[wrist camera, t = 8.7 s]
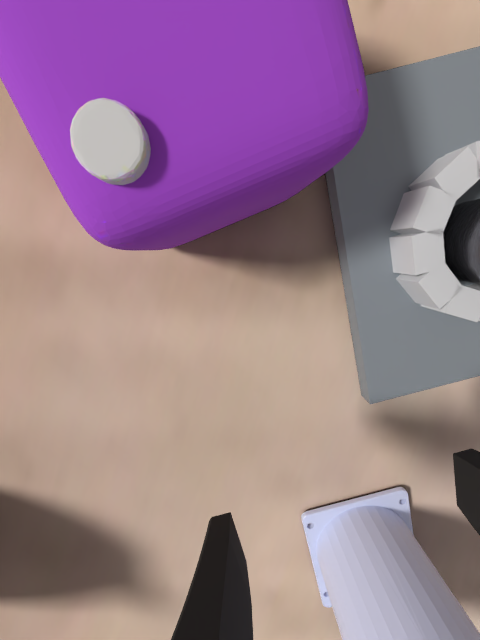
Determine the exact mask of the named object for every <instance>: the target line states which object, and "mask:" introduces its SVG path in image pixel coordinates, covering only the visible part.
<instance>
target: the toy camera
mask: <svg viewBox="0 0 480 640" xmlns="http://www.w3.org/2000/svg"><path fill="white" fill-rule="evenodd" d="M0 78H1V79H2V81H3V83H4V85H5V87H6V89H7V91H8V93H9V95H10V97H11V99H12V101H13V103H14V104H15V106H16V108H17V110H18V112H19V114H20V116H21V118H22V120H23V122H24V124H25V126H26V128H27V129H28V131H29V133H30V135H31V137H32V139H33V141H34V143H35V145H36V147H37V149H38V151H39V152H40V154H41V156H42V158H43V160H44V162H45V164H46V165H47V167H48V169H49V171H50V173H51V175H52V177H53V178H54V180H55V182H56V184H57V186H58V188H59V190H60V191H61V193H62V195H63V197H64V199H65V201H66V202H67V204H68V205H69V207H70V209H71V210H72V212H73V214H74V215H75V217H76V218H77V220H78V221H79V222H80V224H81V225H82V226H83V227H84V229H85V230H86V231H87V232H88V234H90V235H91V236H92V237H93V238H94V239H95V240H97V241H99V242H100V243H102V244H104V245H106V246H109V247H112V248H116V249H121V250H163V249H169V248H173V247H176V246H179V245H182V244H185V243H187V242H190V241H192V240H195V239H197V238H200V237H202V236H204V235H207V234H209V233H212V232H214V231H216V230H219V229H221V228H223V227H226V226H228V225H231V224H233V223H235V222H238V221H240V220H242V219H245V218H247V217H249V216H252V215H254V214H257V213H259V212H261V211H264V210H266V209H268V208H271V207H273V206H275V205H277V204H279V203H281V202H283V201H285V200H287V199H289V198H290V197H292V196H294V195H295V194H297V193H298V192H300V191H301V190H302V189H304V188H305V187H307V186H308V185H309V184H311V183H312V182H314V181H315V180H316V179H318V178H319V177H320V176H322V175H323V174H325V173H326V172H327V171H329V170H330V169H331V168H332V167H334V166H335V165H336V164H337V163H339V162H340V161H341V160H342V159H343V158H344V157H345V156H346V155H347V154H348V153H349V152H350V151H351V150H352V149H353V148H354V146H355V145H356V144H357V142H358V141H359V140H360V138H361V136H362V134H363V132H364V130H365V127H366V124H367V118H368V111H369V108H368V92H367V85H366V80H365V74H364V69H363V64H362V60H361V55H360V51H359V47H358V43H357V39H356V34H355V30H354V26H353V22H352V18H351V13H350V9H349V5H348V1H347V0H0Z"/></svg>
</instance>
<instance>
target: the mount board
mask: <svg viewBox="0 0 480 640" xmlns="http://www.w3.org/2000/svg"><path fill="white" fill-rule="evenodd" d="M365 80H366V85H367V92H368V108H369V111H368V118H367V124H366V127H365V130H364V132H363V134H362V136H361V138H360V140H359V141H358V142H357V144H356V145H355V146H354V148H353V149H352V150H351V151H350V152H349V153H348V154H347V155H346V156H345V157H344V158H343V159H342V160H341V161H340V162H339V163H337V164H336V165H335V166H334V167H332V168H331V169H330V170H329V171H327V172H326V173H325V175H326V181H327V187H328V193H329V199H330V205H331V211H332V218H333V224H334V230H335V236H336V242H337V248H338V254H339V260H340V267H341V273H342V279H343V285H344V291H345V297H346V303H347V309H348V316H349V322H350V328H351V334H352V340H353V346H354V352H355V358H356V365H357V371H358V377H359V383H360V389H361V395H362V396H363V397H364V398H365V399H366V400H367V402H368V403H369V404H373V403H377V402H381V401H385V400H389V399H393V398H396V397H400V396H404V395H408V394H412V393H415V392H419V391H423V390H427V389H431V388H435V387H438V386H442V385H446V384H450V383H454V382H458V381H461V380H465V379H469V378H473V377H477V376H480V284H478V283H472V282H465V281H458V280H457V278H456V277H455V276H454V274H453V273H452V272H451V270H450V269H449V268H448V266H447V265H446V264H445V252H444V239H443V231H444V229H445V226H446V224H447V222H448V219H449V217H450V214H451V212H452V210H453V207H454V206H455V205H457V204H460V203H462V202H466V201H471V200H476V199H480V46H479V47H476V48H472V49H468V50H464V51H460V52H456V53H452V54H448V55H444V56H440V57H436V58H433V59H429V60H425V61H421V62H417V63H413V64H409V65H405V66H401V67H397V68H393V69H390V70H386V71H382V72H378V73H374V74H370V75H366V76H365Z"/></svg>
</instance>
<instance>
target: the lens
mask: <svg viewBox="0 0 480 640" xmlns="http://www.w3.org/2000/svg"><path fill="white" fill-rule="evenodd" d="M443 239H444V252H445V264H446V265H447V266H448V268H449V269H450V270H451V272H452V273H453V274H454V276H455V277H456V278H457V280H458V281H465V282H472V283H478V284H480V199H476V200H471V201H466V202H462V203H460V204H457V205H455V206H454V207H453V210H452V212H451V214H450V217H449V219H448V222H447V224H446V226H445V229H444V231H443Z"/></svg>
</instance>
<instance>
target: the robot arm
mask: <svg viewBox="0 0 480 640" xmlns="http://www.w3.org/2000/svg"><path fill="white" fill-rule="evenodd" d="M453 460H454V473H455V486H456V498H457V506H458V507H459V508H460V510H461V511H462V513H463V514H464V515H465V517H466V518H467V519H468V521H469V522H470V523H471V525H472V526H473V527H474V529H475V530H476V531H477V533H478V534H479V535H480V452H478V451H476V450H474V449H469V450H465V451H461V452H457V453H454V454H453ZM301 519H302V523H303V527H304V531H305V535H306V539H307V543H308V547H309V551H310V555H311V559H312V563H313V567H314V571H315V575H316V579H317V584H318V588H319V592H320V596H321V600H322V603H323V605H324V606H325V607H333V611H334V614H335V617H336V620H337V623H338V627H339V630H340V633H341V636H342V639H343V640H480V633H479V632H478V630H477V629H476V627H475V626H474V624H473V623H472V621H471V620H470V618H469V617H468V615H467V614H466V612H465V611H464V609H463V608H462V606H461V605H460V604H459V602H458V601H457V599H456V598H455V596H454V595H453V593H452V592H451V590H450V589H449V587H448V586H447V584H446V583H445V581H444V580H443V578H442V577H441V575H440V574H439V572H438V571H437V569H436V568H435V567H434V565H433V564H432V562H431V561H430V559H429V558H428V556H427V555H426V553H425V552H424V550H423V549H422V547H421V546H420V544H419V543H418V541H417V540H416V538H415V537H414V535H413V528H412V520H411V512H410V505H409V497H408V493H407V491H406V490H405V489H404V488H403V487H396V488H393V489H389V490H385V491H381V492H377V493H374V494H370V495H366V496H362V497H358V498H355V499H351V500H347V501H343V502H339V503H336V504H332V505H328V506H324V507H320V508H317V509H313V510H309V511H306V512H304V513H303V514H302V516H301ZM309 523H310V524H309ZM171 640H253V626H252V604H251V595H250V587H249V579H248V571H247V563H246V559H245V556H244V553H243V549H242V546H241V543H240V540H239V537H238V534H237V531H236V528H235V525H234V521H233V518H232V515H231V512H230V513H226V514H222V515H219V516H215V517H212V518H211V519H210V521H209V524H208V528H207V532H206V536H205V540H204V544H203V547H202V551H201V554H200V558H199V561H198V564H197V567H196V571H195V574H194V577H193V580H192V583H191V586H190V589H189V592H188V595H187V598H186V601H185V604H184V607H183V609H182V612H181V615H180V617H179V620H178V623H177V625H176V628H175V631H174V633H173V636H172V639H171Z"/></svg>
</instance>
